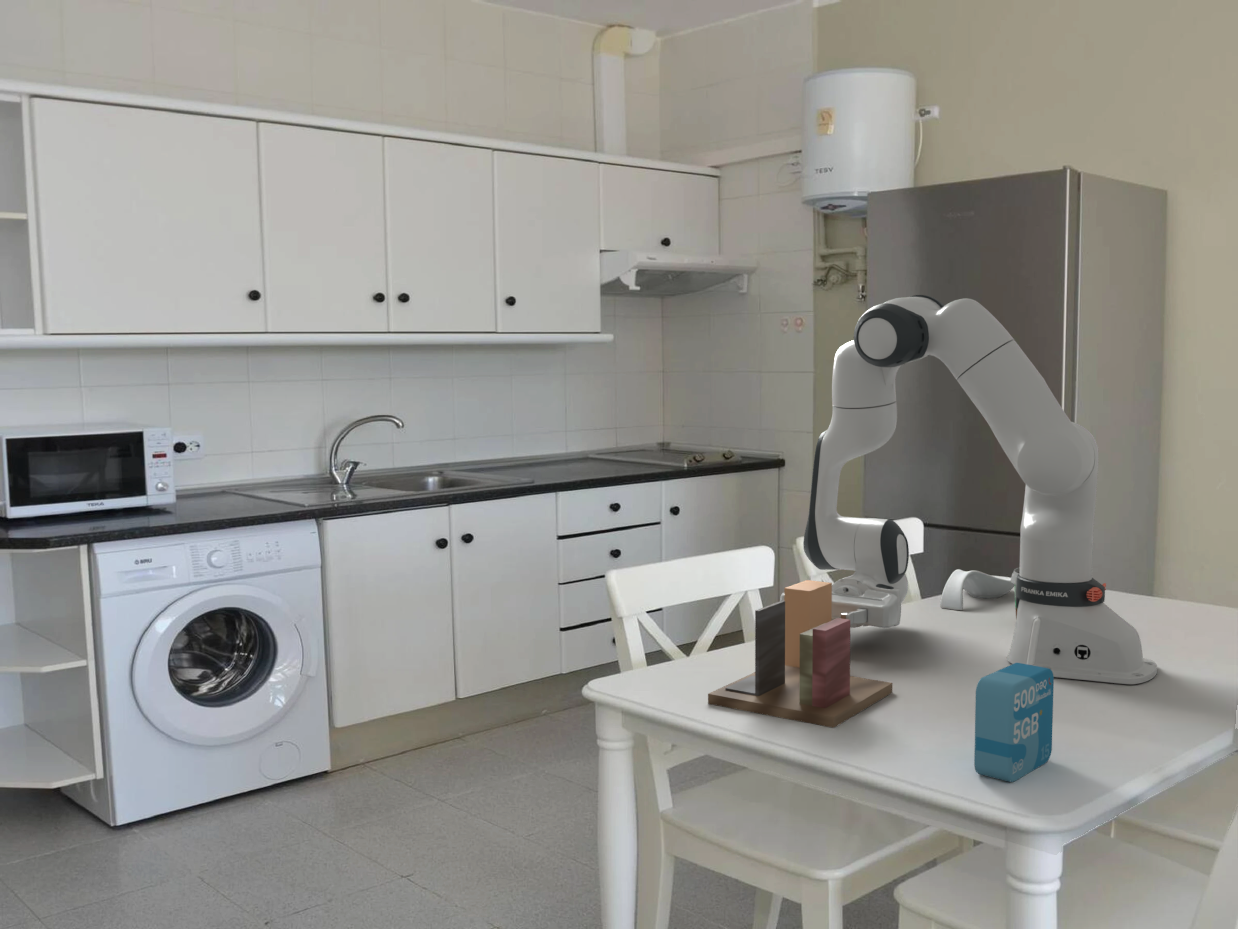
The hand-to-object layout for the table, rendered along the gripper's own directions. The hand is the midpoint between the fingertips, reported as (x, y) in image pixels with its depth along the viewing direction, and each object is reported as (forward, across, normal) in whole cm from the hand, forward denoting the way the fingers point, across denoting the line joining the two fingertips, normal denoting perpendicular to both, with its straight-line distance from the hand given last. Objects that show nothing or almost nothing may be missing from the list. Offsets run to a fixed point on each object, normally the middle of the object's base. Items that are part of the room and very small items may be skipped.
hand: (818, 616), depth 199 cm
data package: (+34, +43, +7) cm, 55 cm away
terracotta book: (+4, 0, +7) cm, 8 cm away
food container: (-44, +21, +7) cm, 49 cm away
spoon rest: (-59, +6, +8) cm, 60 cm away
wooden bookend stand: (+22, +8, +7) cm, 24 cm away
